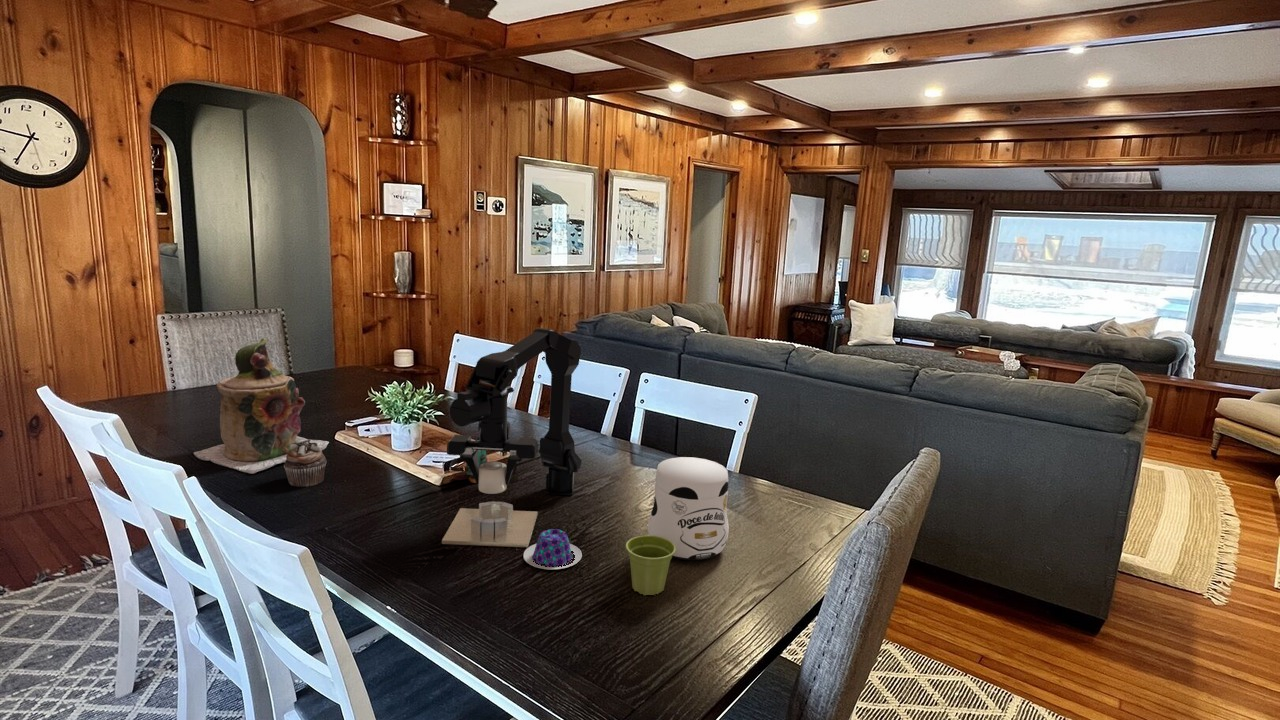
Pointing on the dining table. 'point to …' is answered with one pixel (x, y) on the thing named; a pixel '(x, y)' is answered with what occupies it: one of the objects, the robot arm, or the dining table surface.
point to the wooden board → (491, 526)
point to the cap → (492, 477)
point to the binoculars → (463, 475)
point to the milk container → (691, 507)
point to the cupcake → (305, 464)
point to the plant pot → (649, 563)
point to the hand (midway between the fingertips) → (492, 483)
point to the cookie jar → (257, 414)
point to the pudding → (552, 550)
